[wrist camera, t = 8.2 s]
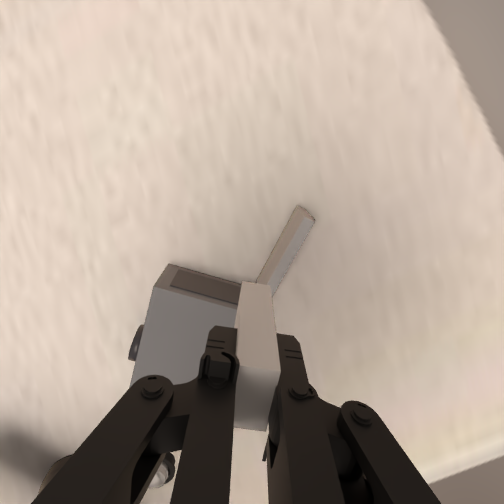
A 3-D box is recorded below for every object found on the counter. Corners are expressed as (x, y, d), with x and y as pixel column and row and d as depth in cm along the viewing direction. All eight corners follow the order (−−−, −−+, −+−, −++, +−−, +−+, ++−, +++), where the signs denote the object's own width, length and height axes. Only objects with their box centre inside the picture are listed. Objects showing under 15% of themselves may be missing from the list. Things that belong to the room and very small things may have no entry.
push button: (170, 387, 47) (149, 450, 38) (199, 405, 48) (187, 470, 39) (146, 414, 49) (120, 481, 39) (175, 431, 50) (157, 499, 40)
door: (253, 286, 41) (253, 308, 36) (297, 205, 37) (304, 216, 32) (265, 291, 41) (267, 314, 36) (309, 211, 37) (319, 223, 32)
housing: (224, 383, 47) (220, 426, 40) (135, 360, 45) (114, 400, 38) (259, 288, 41) (260, 319, 34) (159, 259, 40) (140, 285, 33)
